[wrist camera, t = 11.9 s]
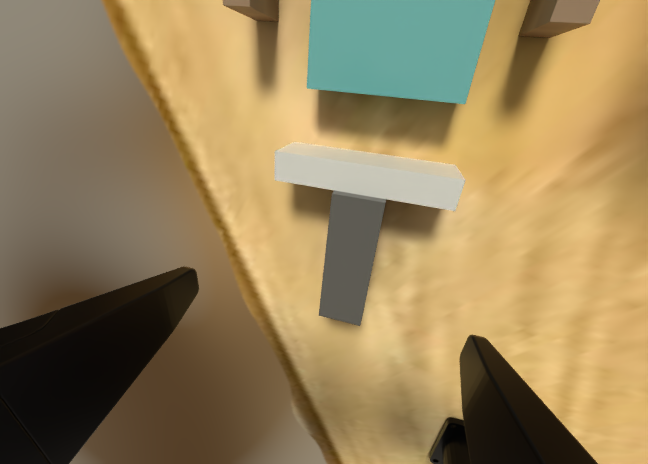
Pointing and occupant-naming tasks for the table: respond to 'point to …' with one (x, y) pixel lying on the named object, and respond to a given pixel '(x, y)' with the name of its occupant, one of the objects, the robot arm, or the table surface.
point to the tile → (397, 47)
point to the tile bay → (540, 21)
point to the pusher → (361, 209)
